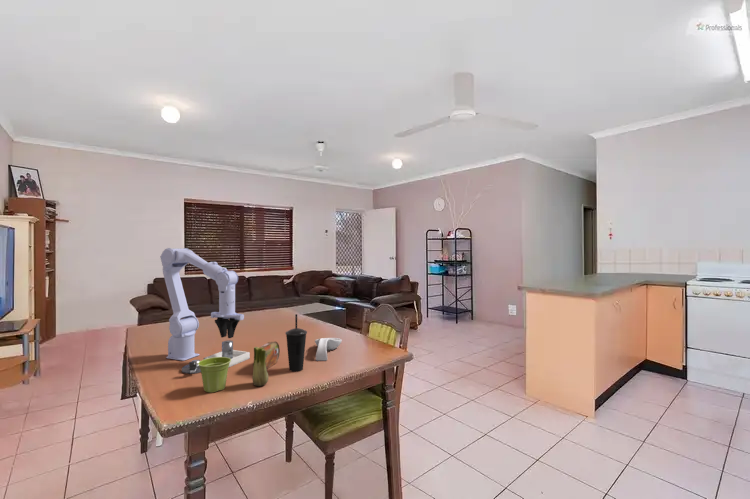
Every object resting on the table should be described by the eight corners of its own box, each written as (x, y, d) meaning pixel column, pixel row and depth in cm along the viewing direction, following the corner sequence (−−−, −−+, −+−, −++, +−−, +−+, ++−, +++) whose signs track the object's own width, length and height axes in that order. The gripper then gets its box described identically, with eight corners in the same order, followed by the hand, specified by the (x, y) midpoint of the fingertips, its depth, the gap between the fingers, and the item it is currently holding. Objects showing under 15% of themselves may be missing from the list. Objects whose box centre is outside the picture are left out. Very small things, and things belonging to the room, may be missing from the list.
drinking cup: (310, 367, 130) (310, 313, 130) (299, 374, 122) (299, 317, 122) (292, 365, 132) (292, 312, 132) (281, 371, 125) (281, 315, 125)
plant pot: (205, 383, 114) (205, 356, 114) (235, 382, 115) (234, 356, 115) (192, 395, 105) (192, 366, 105) (225, 394, 105) (225, 365, 105)
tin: (260, 374, 123) (260, 350, 123) (252, 373, 123) (252, 349, 123) (280, 360, 138) (280, 339, 138) (273, 360, 138) (273, 338, 138)
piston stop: (219, 360, 135) (219, 342, 135) (228, 357, 139) (228, 339, 139) (226, 361, 133) (226, 343, 133) (235, 359, 137) (235, 341, 137)
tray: (203, 364, 132) (203, 358, 132) (227, 355, 144) (227, 349, 144) (226, 368, 128) (226, 361, 128) (249, 358, 140) (249, 352, 140)
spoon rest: (317, 344, 161) (317, 329, 161) (342, 344, 161) (342, 329, 160) (307, 361, 137) (307, 343, 137) (337, 361, 137) (337, 343, 137)
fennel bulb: (251, 382, 115) (251, 346, 115) (267, 380, 117) (267, 344, 117) (253, 389, 110) (253, 350, 110) (269, 386, 112) (269, 349, 112)
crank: (192, 364, 128) (192, 355, 128) (200, 364, 129) (200, 354, 129) (187, 373, 119) (187, 363, 119) (196, 372, 120) (196, 362, 120)
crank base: (175, 371, 124) (175, 368, 124) (196, 364, 133) (196, 361, 133) (194, 375, 121) (194, 372, 121) (215, 366, 130) (215, 363, 130)
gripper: (204, 302, 135) (204, 337, 135) (234, 304, 130) (234, 341, 130) (218, 300, 141) (218, 333, 141) (247, 302, 136) (247, 337, 136)
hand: (227, 337), depth 136 cm, fingers open, 3 cm apart
